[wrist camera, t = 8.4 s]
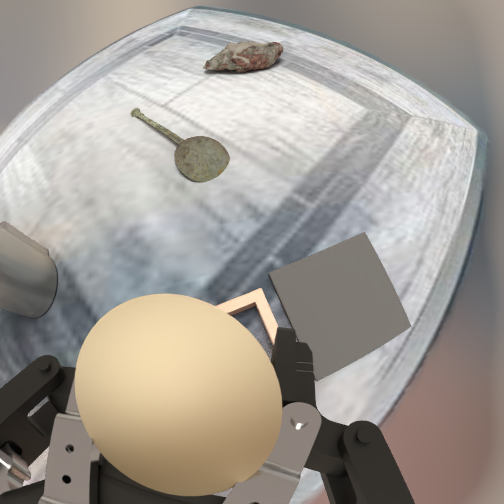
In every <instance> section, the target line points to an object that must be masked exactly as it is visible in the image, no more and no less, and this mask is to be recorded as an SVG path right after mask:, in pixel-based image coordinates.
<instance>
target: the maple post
mask: <svg viewBox="0 0 504 504" xmlns="http://www.w3.org/2000/svg"><path fill="white" fill-rule="evenodd" d="M75 394H76V401H77V406H78V410H79V413H80V416H81V419H82V422H83V424H84V426H85V429H86V431H87V433H88V434H89V436H90V437H91V438H93V443H94V444H95V446H96V447H97V448H98V450H99V451H100V452H101V453H102V455H103V456H104V457H105V458H106V459H107V460H108V461H109V462H110V463H111V464H112V465H113V466H114V467H116V468H117V469H118V470H119V471H120V472H122V473H123V474H125V475H126V476H128V477H129V478H131V479H132V480H134V481H136V482H138V483H140V484H141V485H143V486H146V487H148V488H151V489H153V490H156V491H159V492H163V493H167V494H172V495H179V496H203V495H211V494H215V493H219V492H222V491H225V490H227V489H230V488H232V487H234V486H235V485H236V483H237V482H243V481H245V480H247V479H248V478H249V477H250V476H252V475H253V474H254V473H255V472H256V471H257V470H258V469H259V468H260V467H261V466H262V465H263V464H264V462H265V461H266V460H267V458H268V457H269V455H270V453H271V452H272V450H273V448H274V446H275V443H276V441H277V439H278V435H279V431H280V427H281V421H282V396H281V391H280V386H279V381H278V379H277V376H276V373H275V370H274V367H273V366H272V364H271V362H270V360H269V358H268V356H267V354H266V352H265V351H264V350H263V348H262V347H261V345H260V344H259V342H258V341H257V340H256V339H255V338H254V336H253V335H252V334H251V333H250V332H249V331H248V330H247V329H246V328H245V327H244V326H243V325H242V324H240V323H239V322H238V321H237V320H236V319H235V318H233V317H232V316H230V315H229V314H227V313H226V312H224V311H223V310H221V309H219V308H217V307H215V306H213V305H211V304H209V303H206V302H204V301H201V300H199V299H196V298H191V297H187V296H183V295H175V294H153V295H146V296H141V297H138V298H135V299H131V300H129V301H127V302H124V303H122V304H120V305H118V306H117V307H115V308H114V309H112V310H111V311H109V312H108V313H107V314H106V315H104V316H103V317H102V318H101V319H100V320H99V321H98V322H97V323H96V325H95V326H94V327H93V328H92V329H91V331H90V333H89V334H88V336H87V337H86V339H85V341H84V343H83V345H82V348H81V350H80V353H79V356H78V360H77V365H76V371H75Z"/></svg>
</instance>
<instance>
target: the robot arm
mask: <svg viewBox="0 0 504 504" xmlns="http://www.w3.org/2000/svg"><path fill="white" fill-rule="evenodd" d="M56 287H57V271H56V267H55V264H54V262H53V260H52V259H51V258H50V257H49V256H48V249H46V248H45V247H43V246H42V245H40V244H38V243H37V242H35V241H34V240H32V239H31V238H29V237H28V236H26V235H25V234H23V233H22V232H20V231H19V230H17V229H16V228H15V227H13V226H12V225H10V224H9V223H7V222H6V221H3V222H2V223H0V308H1V309H4V310H7V311H11V312H14V313H17V314H20V315H23V316H27V317H31V318H37V317H40V316H41V315H43V314H44V313H45V312H46V311H47V310H48V308H49V307H50V305H51V303H52V301H53V299H54V296H55V292H56ZM271 364H272V366H273V367H274V370H275V373H276V376H277V379H278V381H279V386H280V391H281V396H282V421H281V427H280V431H279V435H278V439H277V441H276V443H275V446H274V448H273V450H272V452H271V453H270V455H269V457H268V458H267V460H266V461H265V462H264V464H263V465H262V466H261V467H260V468H259V469H258V470H257V471H256V472H255V473H254V474H253V475H252V476H250V477H249V478H248V479H247V480H245V481H243V482H237V483H236V485H235V486H234V488H233V489H232V491H231V492H230V494H229V495H228V497H227V498H226V497H221V496H215V495H203V496H179V495H172V494H167V493H163V492H159V491H156V490H153V489H151V488H148V487H146V486H143V485H141V484H140V483H138V482H136V481H134V480H132V479H131V478H129V477H128V476H126V475H125V474H123V473H122V472H120V471H119V470H118V469H117V468H116V467H114V466H113V465H112V464H111V463H110V462H109V461H108V460H107V459H106V458H105V457H104V456H103V455H102V453H101V452H100V451H99V450H98V448H97V447H96V446H95V444H94V443H93V438H91V437H90V436H89V434H88V433H87V431H86V429H85V426H84V424H83V422H82V419H81V416H80V413H79V410H78V406H77V401H76V394H75V371H76V368H73V367H63V366H61V365H60V363H59V361H58V360H57V358H55V357H54V356H51V355H44V356H41V357H39V358H38V359H36V360H35V361H34V362H32V363H31V364H30V365H29V366H27V367H26V368H25V369H24V370H22V371H21V372H20V373H19V374H18V375H16V376H15V377H14V378H13V379H11V380H10V381H9V382H8V383H7V384H5V385H4V386H3V387H2V388H1V389H0V504H289V502H290V500H291V498H292V496H293V494H294V492H295V490H296V488H297V485H298V483H299V480H300V475H301V472H302V470H303V467H305V468H308V469H311V470H315V471H318V472H320V474H321V477H322V480H323V483H324V486H325V489H326V492H327V495H328V498H329V501H330V504H415V503H414V500H413V498H412V496H411V494H410V492H409V489H408V487H407V485H406V483H405V481H404V479H403V476H402V474H401V472H400V470H399V468H398V466H397V463H396V462H395V459H394V457H393V455H392V453H391V451H390V449H389V447H388V445H387V443H386V441H385V439H384V436H383V434H382V432H381V431H380V429H379V428H378V427H377V426H376V425H375V424H373V423H371V422H368V421H356V422H353V423H351V424H350V425H349V426H347V425H343V424H339V423H336V422H333V421H330V420H328V419H326V418H325V417H323V416H322V415H321V414H320V412H319V411H318V409H317V407H316V400H315V383H314V373H313V371H314V368H313V355H312V351H311V349H310V348H309V346H308V344H307V343H304V342H296V332H295V329H290V328H281V327H277V330H276V336H275V341H274V346H273V352H272V357H271ZM45 397H47V398H48V399H49V401H47V402H46V403H45V404H44V405H43V406H42V407H41V408H40V409H39V410H38V411H36V412H35V413H34V414H33V415H32V416H30V417H27V415H28V413H29V412H30V411H31V410H32V409H33V408H34V407H35V406H36V405H38V404H39V403H40V402H41V401H42V400H43V399H44V398H45ZM49 446H50V447H49ZM48 447H49V453H48V460H47V467H46V476H45V480H42V481H39V482H36V483H33V484H30V485H26V486H23V482H24V480H30V479H31V473H30V471H29V470H28V467H29V466H30V465H31V464H32V463H33V462H34V461H35V460H36V459H37V458H38V457H39V456H40V455H41V454H42V453H43V452H44V451H45V450H46V449H47V448H48Z"/></svg>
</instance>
